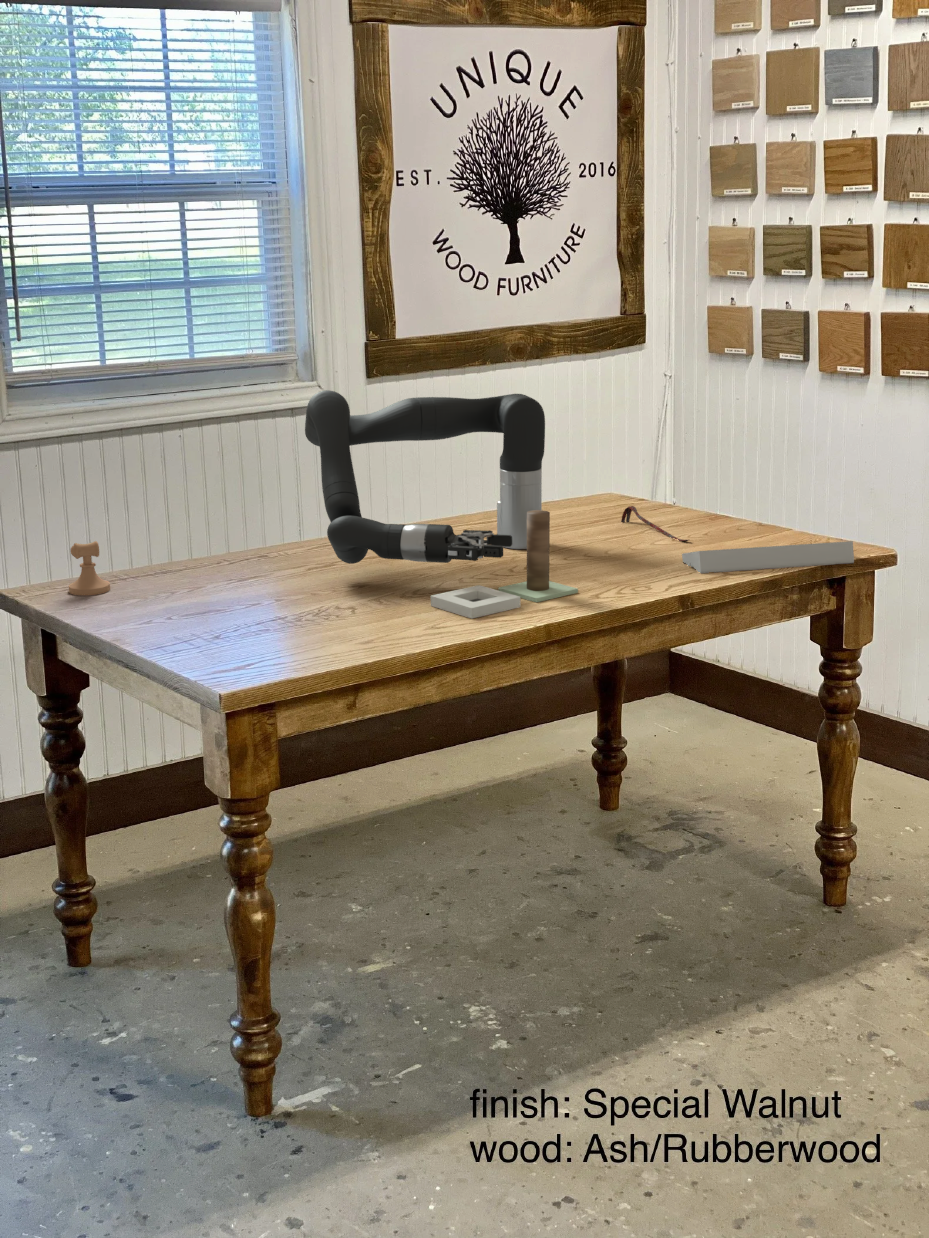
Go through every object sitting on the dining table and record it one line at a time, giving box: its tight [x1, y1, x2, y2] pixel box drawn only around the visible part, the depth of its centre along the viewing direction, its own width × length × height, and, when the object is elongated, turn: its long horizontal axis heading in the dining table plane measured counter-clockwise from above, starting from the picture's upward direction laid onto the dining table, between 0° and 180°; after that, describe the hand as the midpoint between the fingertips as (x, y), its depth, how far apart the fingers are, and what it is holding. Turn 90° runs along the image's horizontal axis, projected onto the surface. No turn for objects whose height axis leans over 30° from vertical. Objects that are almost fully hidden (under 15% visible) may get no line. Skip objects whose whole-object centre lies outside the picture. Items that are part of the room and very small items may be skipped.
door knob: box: [68, 540, 111, 596], centre depth 288 cm, size 8×10×8 cm
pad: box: [497, 580, 579, 603], centre depth 283 cm, size 11×11×1 cm
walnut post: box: [526, 509, 551, 591], centre depth 281 cm, size 4×4×15 cm
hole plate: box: [430, 584, 521, 620], centre depth 274 cm, size 12×12×2 cm
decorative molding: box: [681, 540, 855, 574], centre depth 305 cm, size 34×5×10 cm
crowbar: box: [620, 505, 689, 542], centre depth 335 cm, size 26×2×5 cm, turn 26°
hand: (507, 546), depth 283 cm, fingers open, 8 cm apart
